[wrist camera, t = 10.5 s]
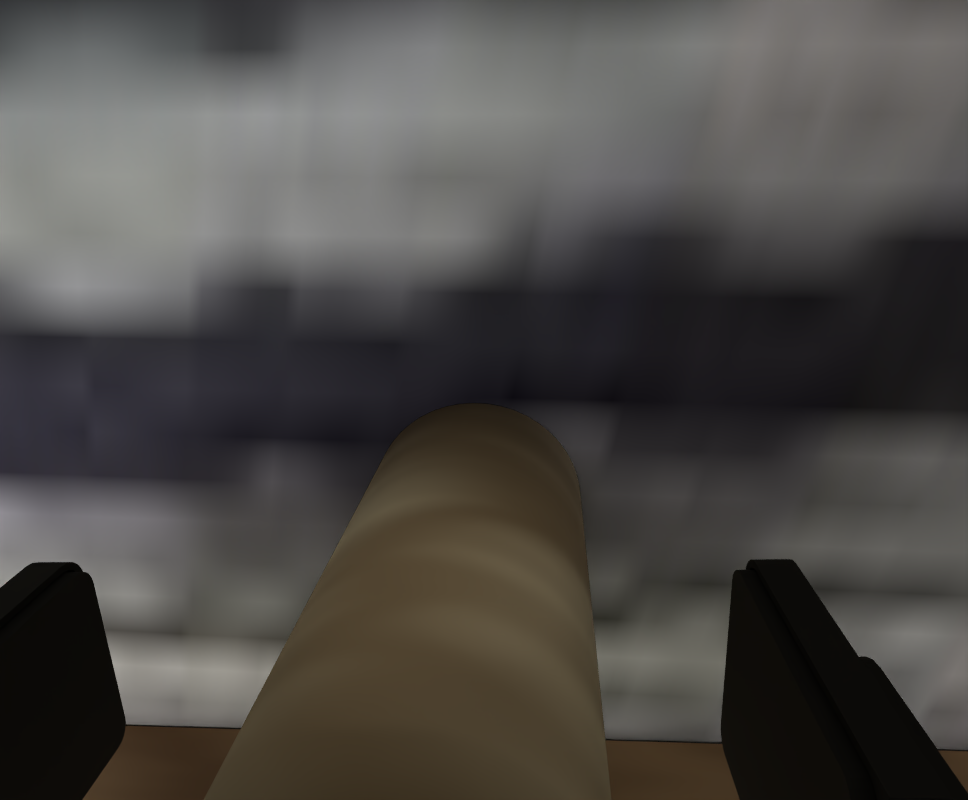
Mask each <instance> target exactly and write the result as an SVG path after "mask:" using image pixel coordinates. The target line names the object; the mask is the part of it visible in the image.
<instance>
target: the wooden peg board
mask: <svg viewBox="0 0 968 800" xmlns="http://www.w3.org/2000/svg"><path fill="white" fill-rule="evenodd" d="M240 730H241V729H215V728H182V727H149V726H125V733H124V737H123V740H122V742H121V744H120V746H119V748H118V749H117V751H116V752H115V754H114V755H113V756H112V758H111V759H110V761H109V762H108V764H107V765H106V767H105V768H104V769H103V771H102V772H101V774H100V775H99V777H98V778H97V779H96V781H95V782H94V784H93V785H92V787H91V788H90V790H89V791H88V792H87V794H86V795H85V797H84V798H83V800H204V798H205V796H206V794H207V792H208V790H209V789H210V787H211V785H212V783H213V781H214V779H215V777H216V775H217V773H218V771H219V769H220V768H221V766H222V764H223V762H224V760H225V758H226V756H227V754H228V752H229V750H230V749H231V747H232V745H233V743H234V741H235V739H236V737H237V735H238V733H239V731H240ZM605 741H606V751H607V761H608V771H609V781H610V791H611V800H740V799H739V796H738V793H737V790H736V787H735V784H734V781H733V778H732V775H731V772H730V769H729V766H728V763H727V760H726V757H725V754H724V750H723V745H722V744H707V743H675V742H642V741H609V740H605ZM939 752H940V754H941V755H942V757H943V758H944V760H945V761H946V762H947V764H948V765H949V767H950V768H951V770H952V771H953V772H954V774H955V775H956V777H957V778H958V780H959V781H960V782H961V784H962V785H963V787H964V788H965V790H966V791H967V793H968V751H939Z"/></svg>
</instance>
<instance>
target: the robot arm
mask: <svg viewBox="0 0 968 800" xmlns="http://www.w3.org/2000/svg"><path fill="white" fill-rule="evenodd" d="M125 726H126V721H125V715H124V710H123V706H122V702H121V698H120V693H119V689H118V685H117V681H116V677H115V672H114V668H113V664H112V660H111V655H110V651H109V647H108V643H107V638H106V634H105V630H104V626H103V621H102V617H101V613H100V609H99V604H98V600H97V596H96V592H95V587H94V583H93V580H92V578H91V576H90V575H89V574H88V573H86V572H83V571H82V569H81V568H80V566H79V565H78V564H76V563H73V562H38V563H32V564H30V565H28V566H26V567H25V568H24V569H23V570H22V571H20V572H19V573H18V574H17V575H15V576H14V577H13V578H12V579H10V580H9V581H8V582H7V583H6V584H4V585H3V586H2V587H1V588H0V800H83V798H84V797H85V795H86V794H87V792H88V791H89V790H90V788H91V787H92V785H93V784H94V782H95V781H96V779H97V778H98V777H99V775H100V774H101V772H102V771H103V769H104V768H105V767H106V765H107V764H108V762H109V761H110V759H111V758H112V756H113V755H114V754H115V752H116V751H117V749H118V748H119V746H120V744H121V742H122V740H123V737H124V733H125ZM721 738H722V745H723V750H724V754H725V757H726V760H727V763H728V766H729V769H730V772H731V775H732V778H733V781H734V784H735V787H736V790H737V793H738V796H739V799H740V800H968V793H967V791H966V790H965V788H964V787H963V785H962V784H961V782H960V781H959V780H958V778H957V777H956V775H955V774H954V772H953V771H952V770H951V768H950V767H949V765H948V764H947V762H946V761H945V760H944V758H943V757H942V755H941V754H940V752H939V751H938V750H937V748H936V747H935V745H934V744H933V742H932V741H931V740H930V738H929V737H928V735H927V734H926V732H925V731H924V730H923V728H922V727H921V725H920V724H919V722H918V721H917V719H916V718H915V717H914V715H913V714H912V712H911V711H910V709H909V708H908V707H907V705H906V704H905V702H904V701H903V699H902V698H901V697H900V695H899V694H898V692H897V691H896V689H895V688H894V687H893V685H892V684H891V682H890V681H889V679H888V678H887V677H886V675H885V674H884V672H883V671H882V669H881V668H880V667H879V666H878V665H877V664H876V662H875V661H874V660H872V659H870V658H868V657H858V655H857V654H856V652H855V651H854V649H853V648H852V646H851V645H850V643H849V642H848V640H847V639H846V637H845V636H844V634H843V633H842V631H841V630H840V628H839V627H838V625H837V624H836V622H835V621H834V619H833V618H832V616H831V615H830V613H829V612H828V610H827V609H826V607H825V606H824V604H823V603H822V602H821V600H820V599H819V597H818V596H817V594H816V593H815V591H814V590H813V588H812V587H811V585H810V584H809V582H808V581H807V579H806V578H805V576H804V575H803V573H802V572H801V570H800V569H799V567H798V566H797V564H796V563H795V562H794V561H793V560H790V559H766V560H749V561H748V563H747V566H746V570H736V571H735V572H734V574H733V580H732V591H731V604H730V616H729V629H728V641H727V654H726V667H725V679H724V692H723V704H722V717H721Z"/></svg>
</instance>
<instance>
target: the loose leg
mask: <svg viewBox="0 0 968 800" xmlns="http://www.w3.org/2000/svg"><path fill="white" fill-rule="evenodd" d="M204 800H611V791H610V781H609V771H608V761H607V751H606V741H605V732H604V722H603V712H602V702H601V692H600V683H599V673H598V663H597V653H596V643H595V633H594V624H593V614H592V604H591V594H590V584H589V574H588V565H587V555H586V545H585V535H584V525H583V515H582V506H581V496H580V487H579V482H578V478H577V474H576V471H575V469H574V466H573V463H572V462H571V460H570V458H569V456H568V454H567V452H566V451H565V450H564V448H563V447H562V445H561V444H560V443H559V441H558V440H557V439H556V438H555V437H554V436H553V435H552V434H551V433H550V432H549V431H548V430H546V429H545V428H544V427H543V426H541V425H540V424H539V423H537V422H536V421H534V420H532V419H531V418H529V417H528V416H526V415H523V414H521V413H519V412H517V411H514V410H511V409H508V408H505V407H502V406H496V405H491V404H481V403H467V404H457V405H452V406H447V407H443V408H440V409H438V410H435V411H432V412H430V413H428V414H426V415H424V416H422V417H420V418H419V419H417V420H416V421H414V422H413V423H411V424H410V425H409V426H408V427H406V428H405V429H404V430H403V431H402V432H401V433H400V434H399V435H398V436H397V437H396V439H395V440H394V441H393V442H392V444H391V445H390V447H389V449H388V450H387V452H386V454H385V455H384V457H383V459H382V461H381V463H380V465H379V467H378V469H377V471H376V473H375V474H374V476H373V478H372V480H371V482H370V484H369V486H368V488H367V490H366V492H365V493H364V495H363V497H362V499H361V501H360V503H359V505H358V507H357V509H356V511H355V513H354V514H353V516H352V518H351V520H350V522H349V524H348V526H347V528H346V530H345V532H344V533H343V535H342V537H341V539H340V541H339V543H338V545H337V547H336V549H335V551H334V552H333V554H332V556H331V558H330V560H329V562H328V564H327V566H326V568H325V570H324V572H323V573H322V575H321V577H320V579H319V581H318V583H317V585H316V587H315V589H314V591H313V592H312V594H311V596H310V598H309V600H308V602H307V604H306V606H305V608H304V610H303V611H302V613H301V615H300V617H299V619H298V621H297V623H296V625H295V627H294V629H293V631H292V632H291V634H290V636H289V638H288V640H287V642H286V644H285V646H284V648H283V650H282V651H281V653H280V655H279V657H278V659H277V661H276V663H275V665H274V667H273V669H272V671H271V672H270V674H269V676H268V678H267V680H266V682H265V684H264V686H263V688H262V690H261V691H260V693H259V695H258V697H257V699H256V701H255V703H254V705H253V707H252V709H251V710H250V712H249V714H248V716H247V718H246V720H245V722H244V724H243V726H242V728H241V730H240V731H239V733H238V735H237V737H236V739H235V741H234V743H233V745H232V747H231V749H230V750H229V752H228V754H227V756H226V758H225V760H224V762H223V764H222V766H221V768H220V769H219V771H218V773H217V775H216V777H215V779H214V781H213V783H212V785H211V787H210V789H209V790H208V792H207V794H206V796H205V798H204Z"/></svg>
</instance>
